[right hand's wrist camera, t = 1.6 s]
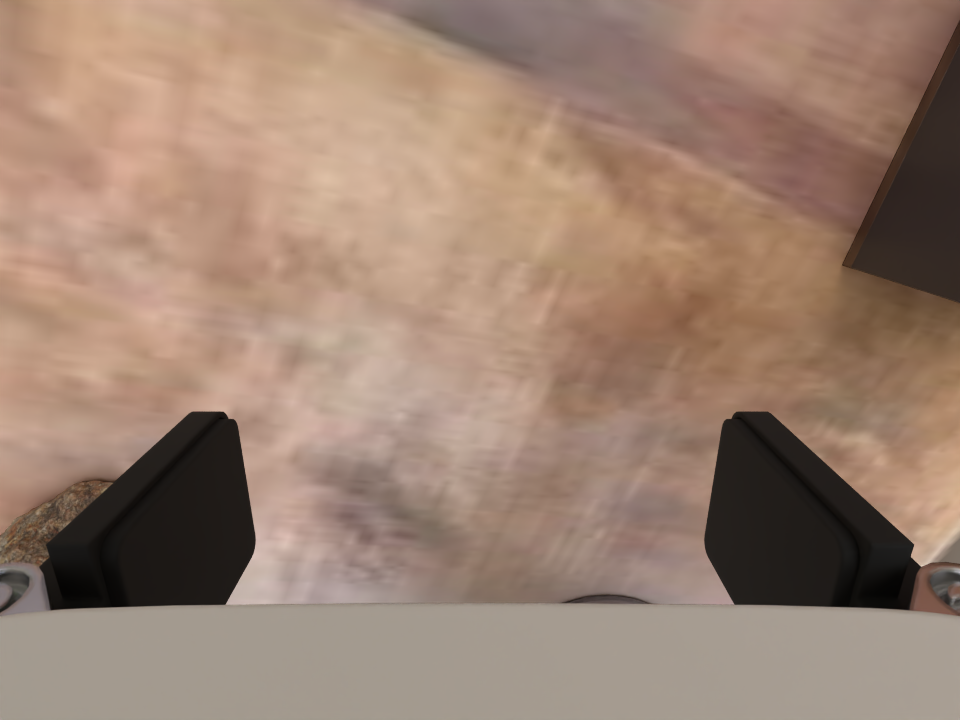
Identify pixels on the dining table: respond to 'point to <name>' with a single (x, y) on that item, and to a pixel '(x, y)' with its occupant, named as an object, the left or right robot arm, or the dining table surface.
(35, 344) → the dining table surface
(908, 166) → the cabinet
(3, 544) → the rock
